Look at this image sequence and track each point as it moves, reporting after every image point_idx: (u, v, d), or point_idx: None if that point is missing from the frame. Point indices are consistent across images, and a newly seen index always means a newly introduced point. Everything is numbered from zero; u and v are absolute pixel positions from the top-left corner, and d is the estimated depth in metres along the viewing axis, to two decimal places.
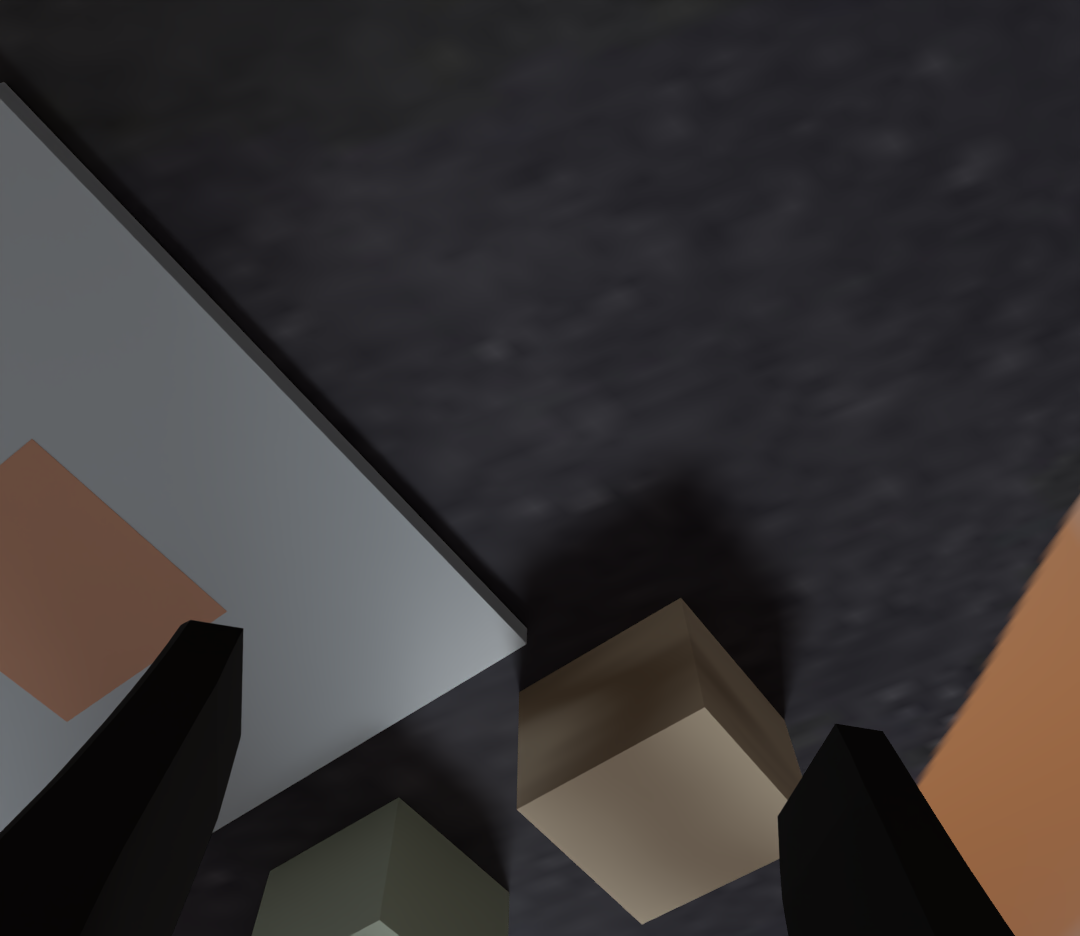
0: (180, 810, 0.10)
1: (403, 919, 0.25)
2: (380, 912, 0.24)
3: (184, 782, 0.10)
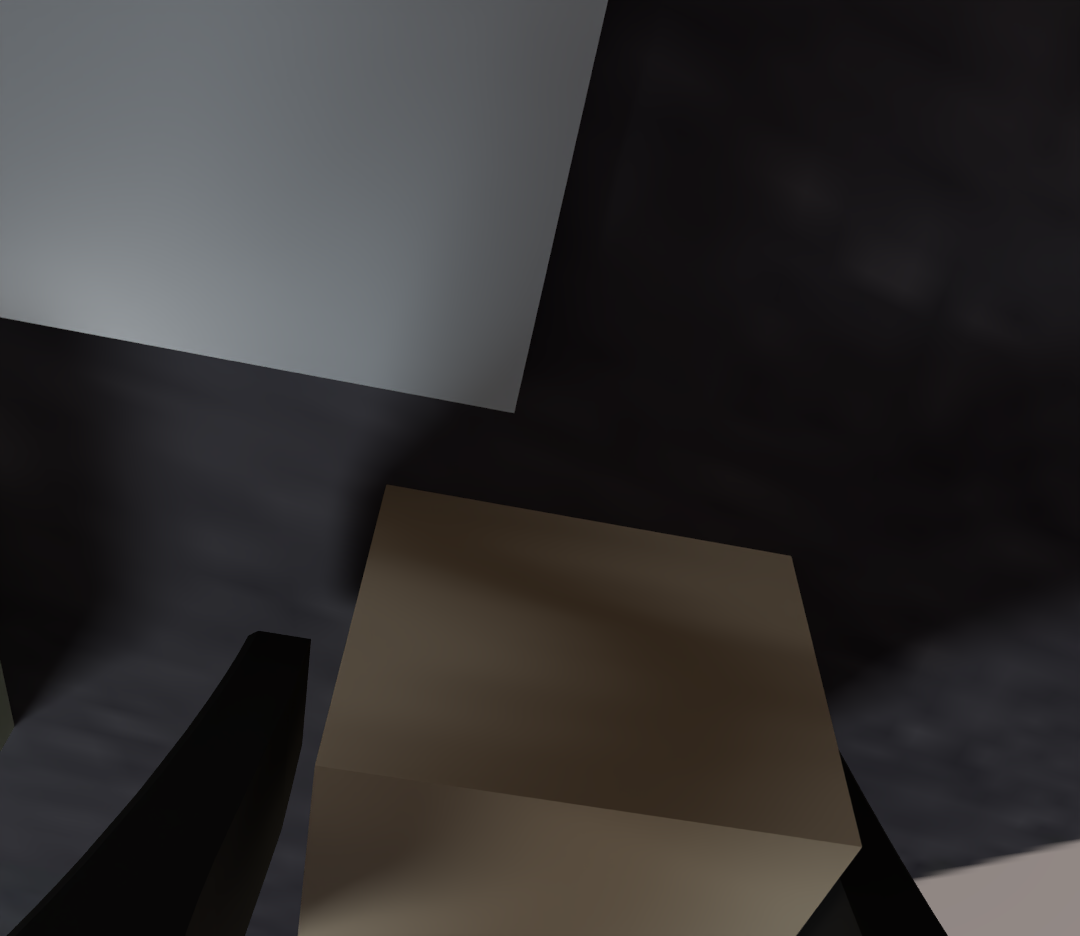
0: (256, 821, 0.10)
1: None
2: None
3: (261, 793, 0.10)
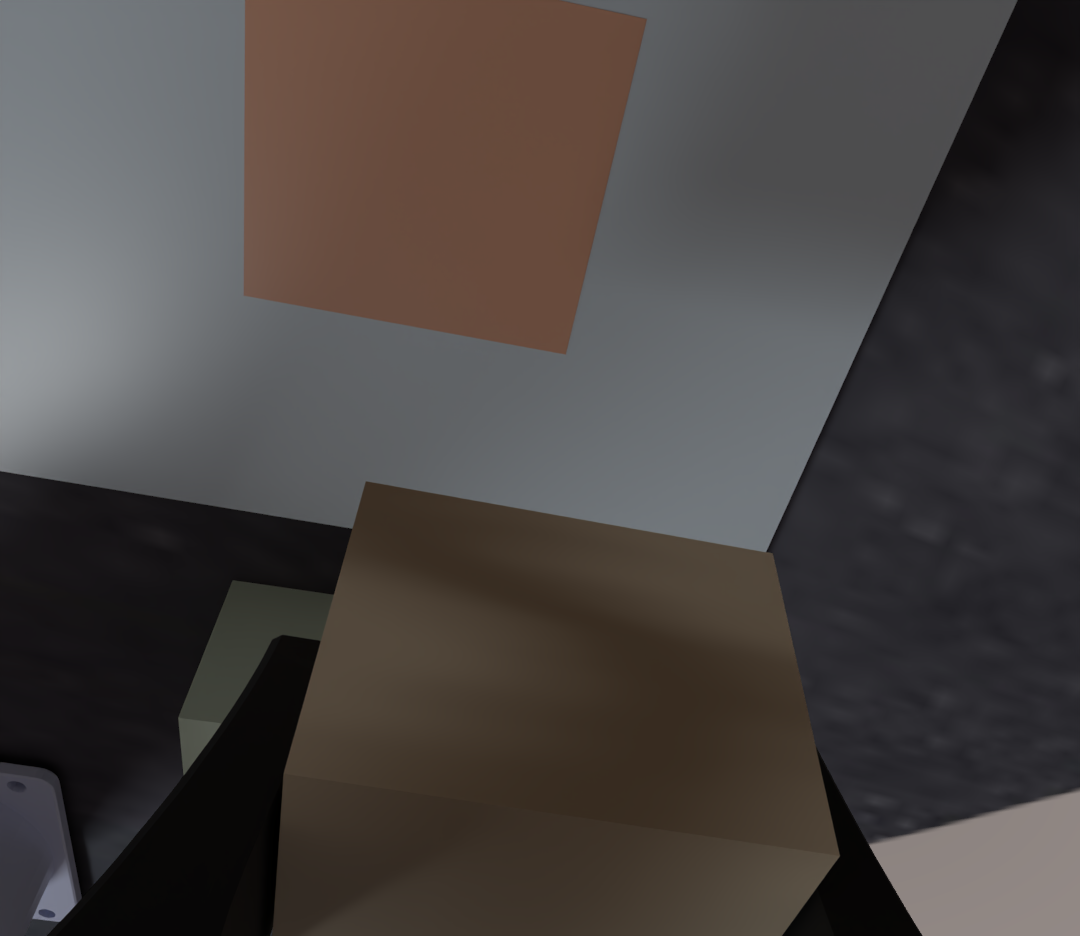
0: None
1: None
2: None
3: None
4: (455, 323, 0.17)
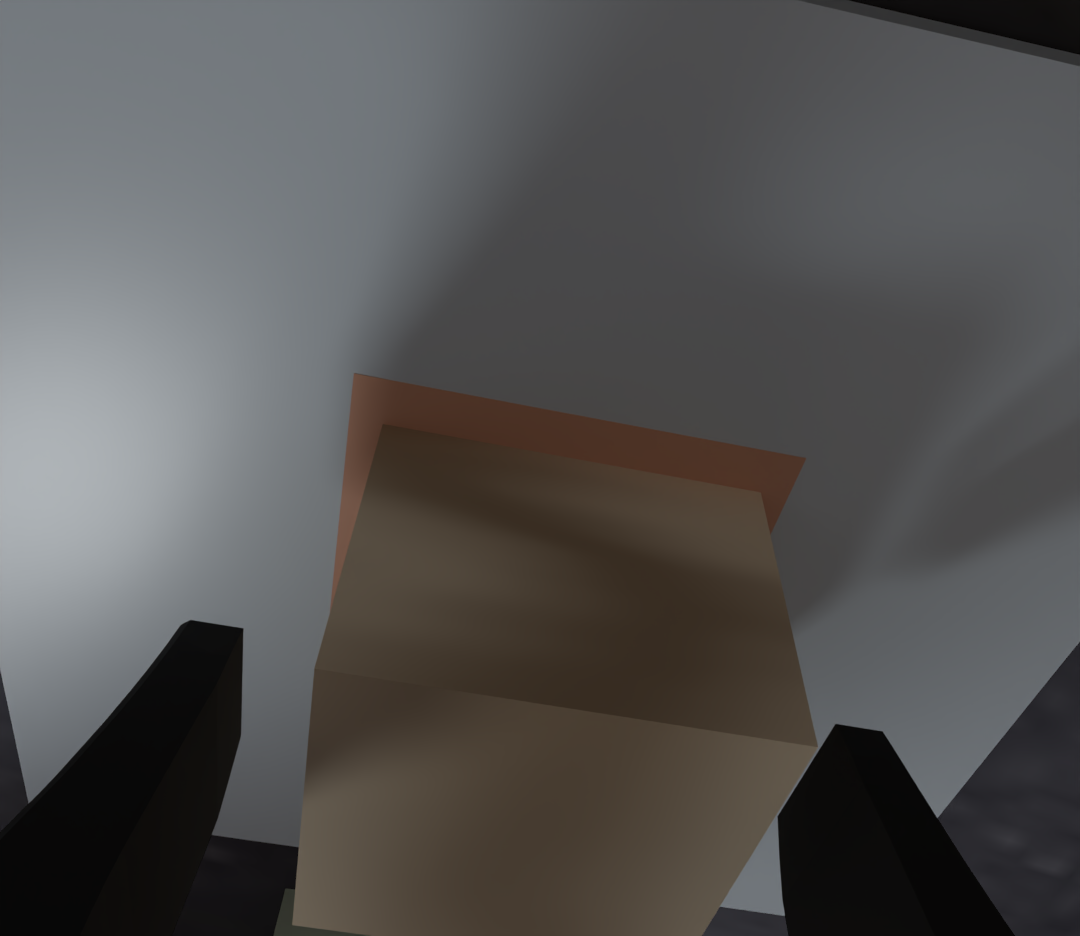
0: (180, 810, 0.10)
1: None
2: None
3: (184, 782, 0.10)
4: None
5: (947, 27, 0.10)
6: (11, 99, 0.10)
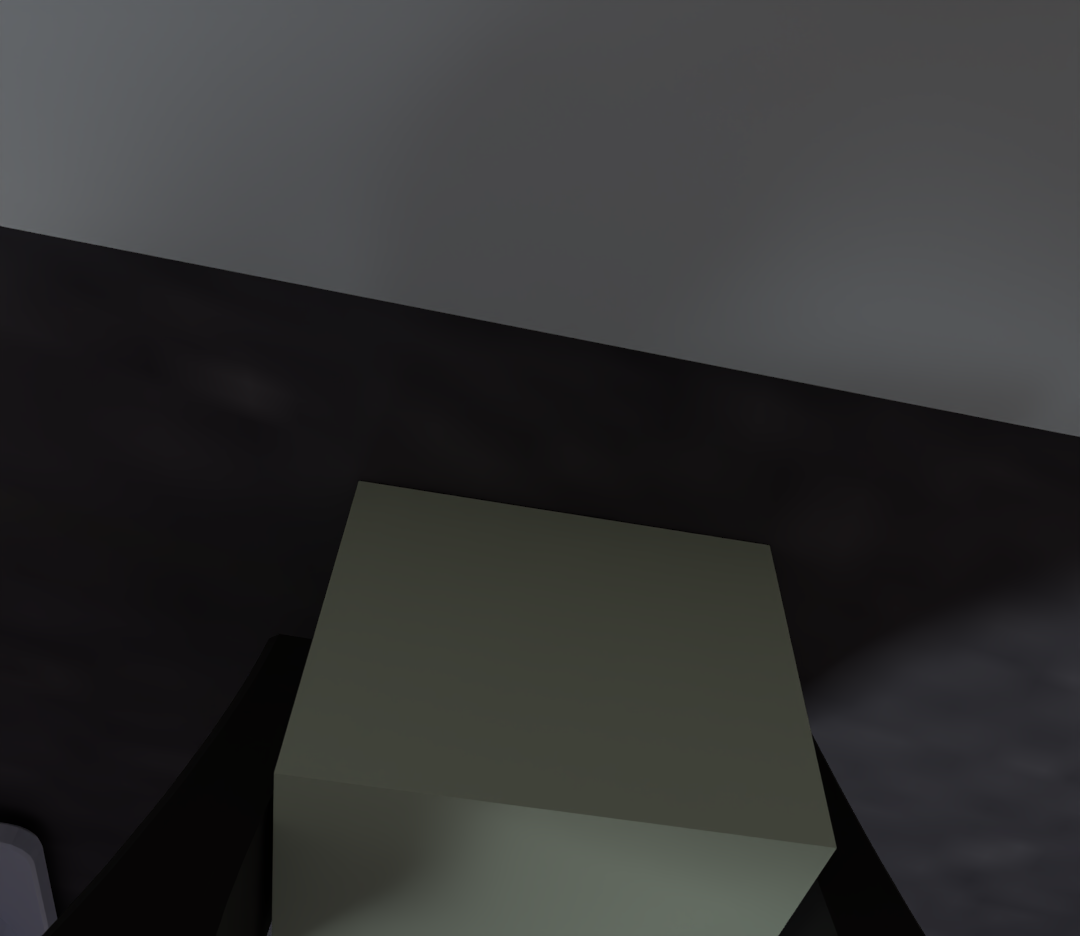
0: None
1: None
2: None
3: None
4: None
5: None
6: None
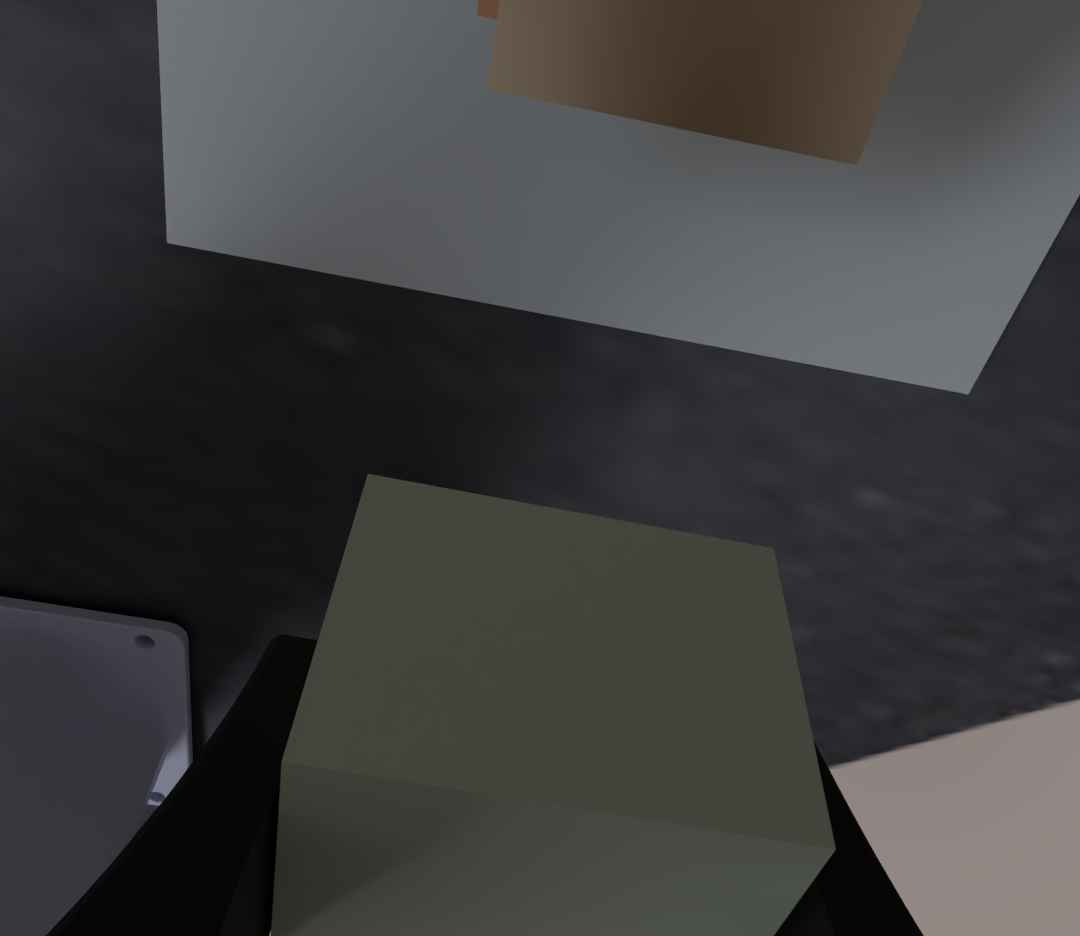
0: None
1: None
2: (831, 828, 0.09)
3: None
4: None
5: None
6: None
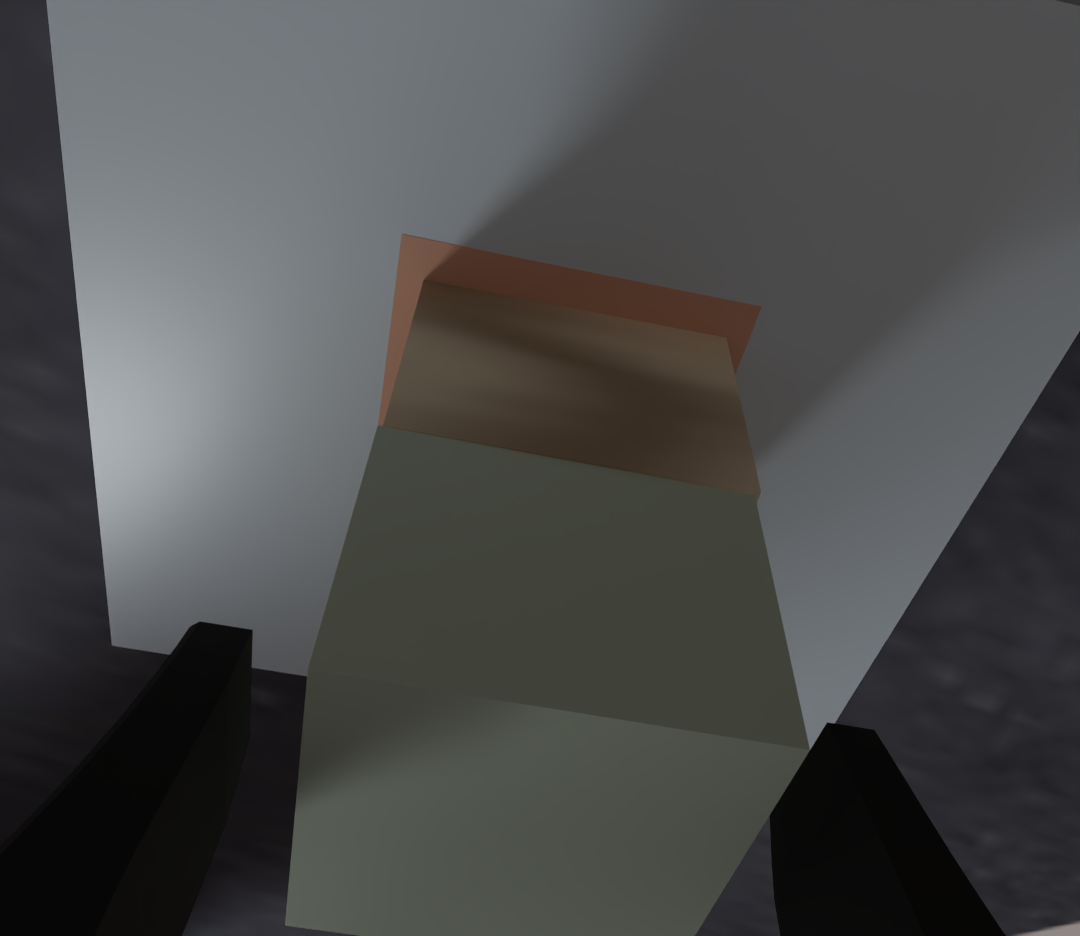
0: (191, 811, 0.10)
1: None
2: None
3: (195, 783, 0.10)
4: None
5: None
6: (148, 5, 0.13)
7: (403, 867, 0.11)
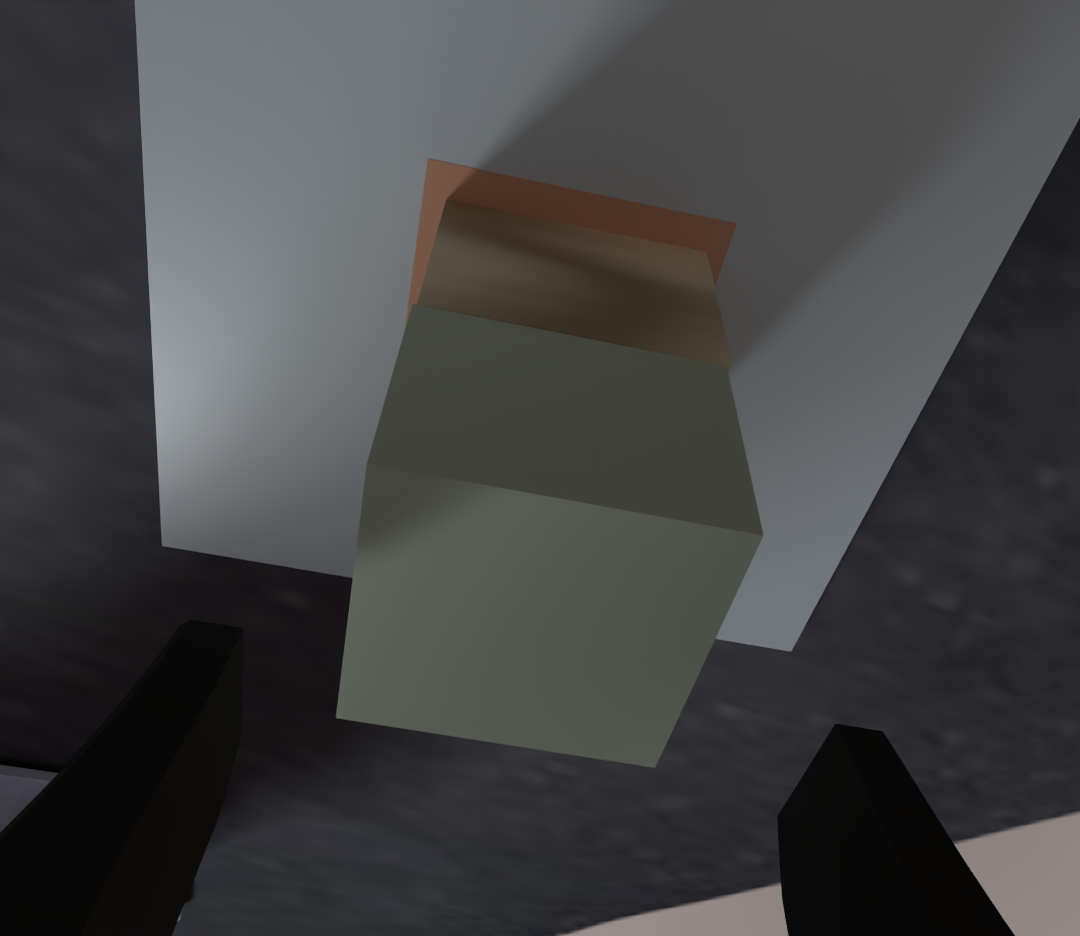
0: (180, 810, 0.10)
1: None
2: (760, 524, 0.12)
3: (184, 782, 0.10)
4: None
5: None
6: None
7: (435, 657, 0.14)
